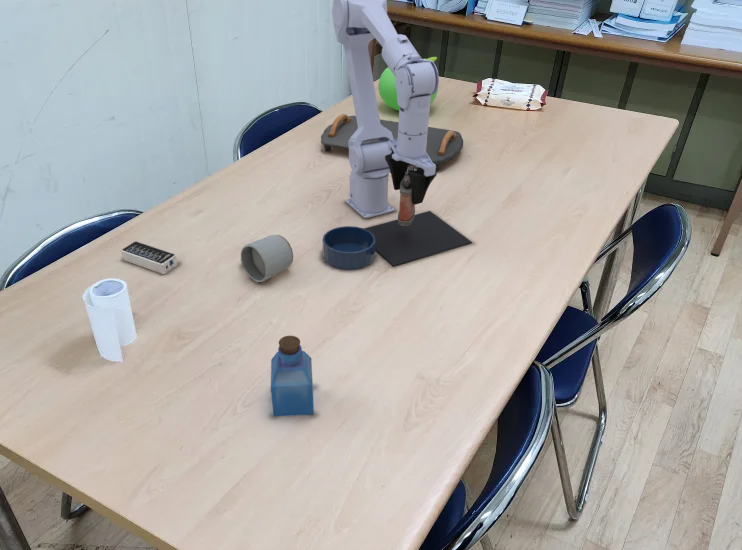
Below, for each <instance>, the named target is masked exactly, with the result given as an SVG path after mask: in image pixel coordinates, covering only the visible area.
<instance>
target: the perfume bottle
mask: <svg viewBox="0 0 742 550" xmlns="http://www.w3.org/2000/svg"><path fill="white" fill-rule="evenodd" d="M313 384H314V383H313V366H312V357H311V356H310V355H309V354H308V353H307V352H306V351H305V350H303V347H302V345H301V339H300V338H299V337H297V336H295V335H285V336H283V337H281V338H280V339H279V340H278V349H277V351H276V353H275V354H274V355H273V356H272V358H271V360H270V395H271V405H272V415H273V417H286V416H287V417H289V416H291V417H292V416H310V415H313V416H314V414H315V412H314V409H315V408H314V386H313Z"/></svg>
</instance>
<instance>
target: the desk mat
mask: <svg viewBox="0 0 742 550" xmlns="http://www.w3.org/2000/svg"><path fill="white" fill-rule="evenodd" d="M364 229H366V230H368V231H370V232H371V233H372V234H373V235H374V237H375V239H376V241H375V253H377V254H378V255H379V256H381V257H382V259H384V260H385V261H386V262H387V263H388V264H390V265H391V266H392V267H393V268H394V267H398V266H402V265H405V264H408V263H411V262H414V261H418V260H422V259H424V258H428V257H431V256H434V255H438V254H442V253H444V252H447V251H452V250H455V249H457V248H461V247H464V246H468V245H471V244H472V243H473V242H472V241H471V240H470V239H469V238H467V237H466V236H465V235H463V234H462V233H461V232H460V231H457V229H455V228H454V227H453V226H451V225H450V224H448V223H447V222H445V220H443V219H442V218H440V217H439V216H437V215H436V214H434V213H433V212H432V211H431V210H428V211H424V212H420V213H415V216H414V219H413V221H412V222H411V224H410V225H407V226H403V225H400V224H398V219H394V220H390V221H387V222H383V223H379V224H376V225H371V226H368V227H364Z"/></svg>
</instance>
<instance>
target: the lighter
mask: <svg viewBox="0 0 742 550" xmlns="http://www.w3.org/2000/svg"><path fill="white" fill-rule="evenodd" d="M415 168H416V166H414V165H409V166H408V170H407V171H406V172H405V176H404V178H403V179H402V181H401V184H400V189H399V207H398V208H399V209H398V213H397V220H398V224H400V225H403V226H407V225H410V224H411V222H412V221H413V219H414V216H415V215H416V206H415V205H416V204H415V205H414V204H413V203H412V187H411V181H410V178H409V175H408V172H410V171H415V170H416V169H415Z"/></svg>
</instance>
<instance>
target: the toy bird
mask: <svg viewBox="0 0 742 550" xmlns="http://www.w3.org/2000/svg"><path fill="white" fill-rule="evenodd" d="M425 59H426V60H431V61H433V62H434V63H435V62H436V61H437V59H438V57H437V56H431V57H428V58H425ZM438 90H439V88H438V89H437V91H436V92H435V94H433V95H431V101H430V105H432V104H433V102H434V101H435V99H436V97H437V94H438V92H439V91H438ZM378 93H379V96H380V99H381V100H382V102H383V103H384V104H385V105H386V106H387V107H389V108H391V109H392V110H395V111H398V112H399V108H400V106H399V105H398V102H397V91H396V86H395V76H394V75H393V73H392V72H391V70H390V68H389V67H388V66H387V67H386V68H385V69H384V70H383V72H382V73H381V75H380V77H379V81H378Z"/></svg>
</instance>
